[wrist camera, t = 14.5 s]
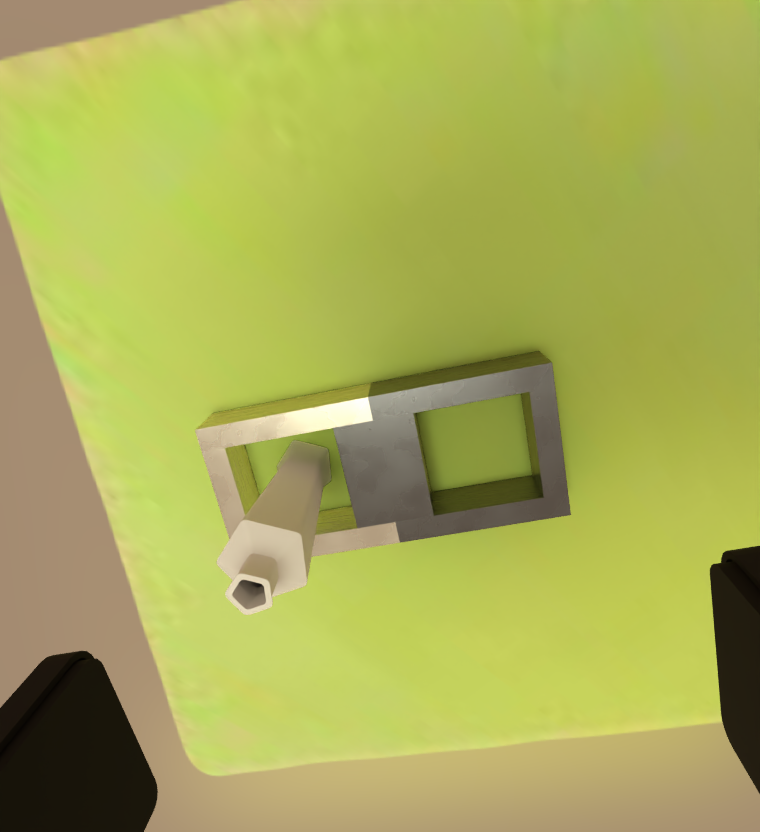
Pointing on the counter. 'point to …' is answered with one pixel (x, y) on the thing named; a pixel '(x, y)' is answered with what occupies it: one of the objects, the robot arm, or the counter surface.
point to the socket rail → (399, 454)
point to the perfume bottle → (277, 531)
